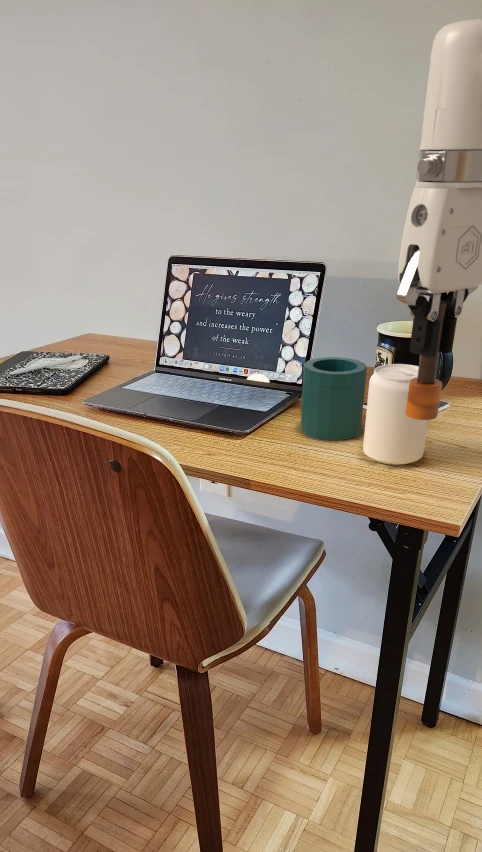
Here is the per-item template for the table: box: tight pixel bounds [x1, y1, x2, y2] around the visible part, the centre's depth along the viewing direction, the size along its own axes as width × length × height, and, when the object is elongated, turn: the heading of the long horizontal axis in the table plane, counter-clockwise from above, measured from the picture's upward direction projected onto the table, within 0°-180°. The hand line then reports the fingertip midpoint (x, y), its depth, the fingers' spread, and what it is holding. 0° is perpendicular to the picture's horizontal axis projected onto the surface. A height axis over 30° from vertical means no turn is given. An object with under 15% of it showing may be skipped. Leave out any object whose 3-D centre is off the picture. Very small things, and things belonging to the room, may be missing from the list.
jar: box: [300, 356, 368, 441], centre depth 102 cm, size 9×9×10 cm
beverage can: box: [362, 363, 429, 466], centre depth 93 cm, size 8×8×12 cm
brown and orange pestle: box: [405, 300, 447, 421], centre depth 77 cm, size 4×4×13 cm
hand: (430, 351), depth 77 cm, fingers closed on brown and orange pestle, 2 cm apart
